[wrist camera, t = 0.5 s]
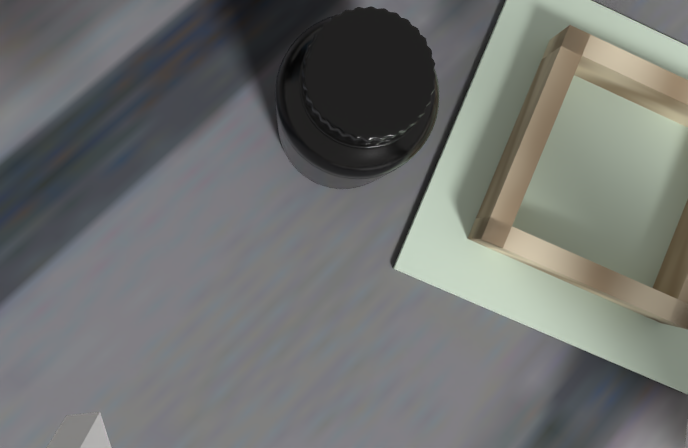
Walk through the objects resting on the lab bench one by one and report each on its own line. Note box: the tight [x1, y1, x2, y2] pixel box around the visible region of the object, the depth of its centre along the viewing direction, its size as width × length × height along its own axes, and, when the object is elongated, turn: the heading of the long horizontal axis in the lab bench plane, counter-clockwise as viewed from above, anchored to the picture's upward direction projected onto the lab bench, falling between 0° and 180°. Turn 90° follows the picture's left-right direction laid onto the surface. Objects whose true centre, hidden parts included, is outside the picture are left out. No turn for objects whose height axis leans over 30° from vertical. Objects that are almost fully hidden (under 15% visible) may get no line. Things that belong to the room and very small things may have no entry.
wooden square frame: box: [467, 25, 688, 329], centre depth 33 cm, size 12×12×2 cm
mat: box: [393, 0, 688, 394], centre depth 35 cm, size 18×18×1 cm
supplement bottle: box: [275, 7, 439, 189], centre depth 28 cm, size 7×7×12 cm
